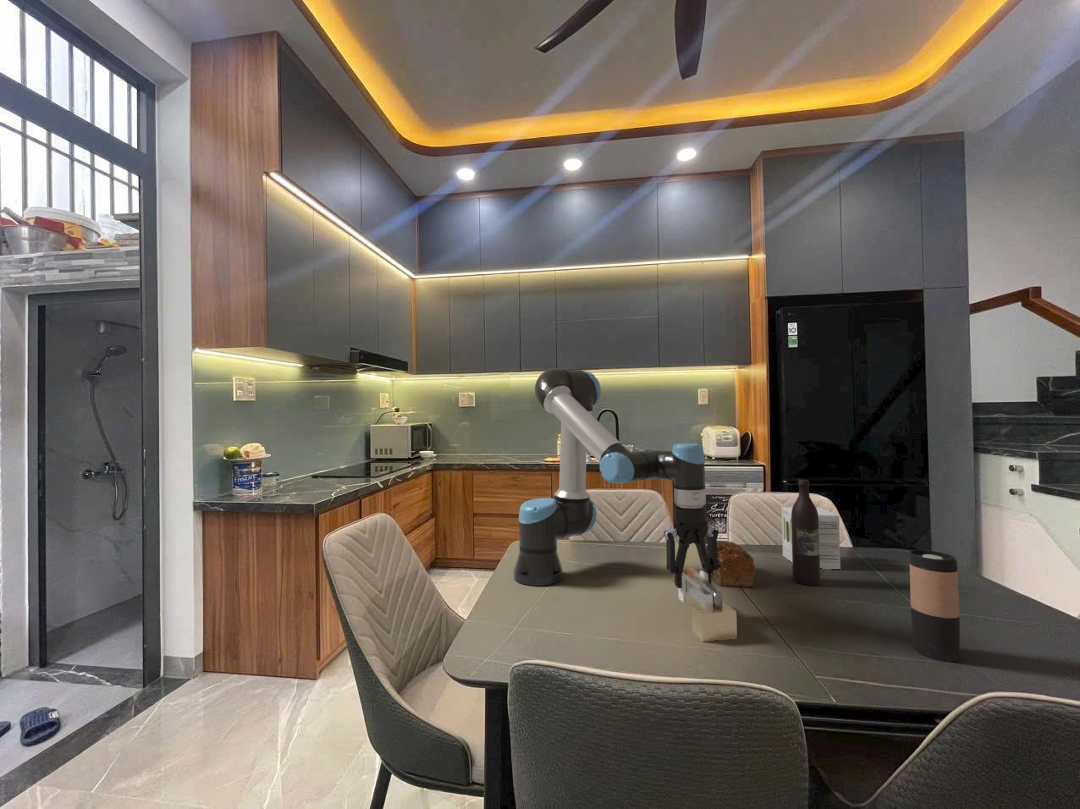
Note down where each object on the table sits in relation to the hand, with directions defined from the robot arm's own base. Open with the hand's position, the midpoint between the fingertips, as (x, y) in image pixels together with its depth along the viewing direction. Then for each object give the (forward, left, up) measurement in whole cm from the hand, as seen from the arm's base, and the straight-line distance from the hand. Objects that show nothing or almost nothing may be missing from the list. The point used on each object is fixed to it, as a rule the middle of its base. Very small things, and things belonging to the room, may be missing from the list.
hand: (693, 599), depth 113 cm
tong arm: (+3, +1, +3) cm, 4 cm away
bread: (-24, +23, -4) cm, 34 cm away
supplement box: (-32, +57, -4) cm, 66 cm away
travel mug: (+25, +40, -4) cm, 48 cm away
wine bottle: (-16, +43, -4) cm, 46 cm away
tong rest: (+4, -1, -4) cm, 5 cm away
